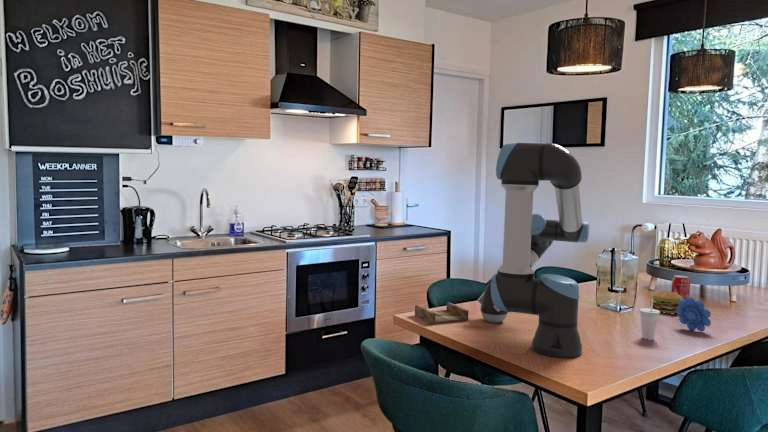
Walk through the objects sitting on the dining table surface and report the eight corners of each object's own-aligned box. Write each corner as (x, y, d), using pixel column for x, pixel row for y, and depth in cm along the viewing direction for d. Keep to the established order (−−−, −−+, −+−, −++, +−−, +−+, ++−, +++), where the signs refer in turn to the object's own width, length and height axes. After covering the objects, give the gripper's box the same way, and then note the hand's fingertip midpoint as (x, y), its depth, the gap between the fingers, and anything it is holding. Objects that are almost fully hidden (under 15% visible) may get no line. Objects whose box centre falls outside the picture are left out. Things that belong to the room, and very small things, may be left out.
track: (468, 321, 210) (468, 310, 210) (432, 324, 204) (433, 314, 204) (448, 312, 223) (448, 302, 223) (414, 315, 217) (415, 305, 216)
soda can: (672, 300, 252) (673, 274, 251) (690, 303, 248) (691, 276, 247) (669, 303, 246) (671, 276, 245) (687, 306, 242) (689, 278, 241)
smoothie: (657, 342, 189) (659, 301, 188) (636, 338, 192) (638, 298, 191) (659, 337, 194) (662, 297, 193) (639, 334, 198) (641, 295, 196)
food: (687, 317, 224) (688, 297, 223) (648, 312, 230) (649, 292, 230) (688, 310, 235) (689, 291, 235) (651, 305, 242) (652, 287, 242)
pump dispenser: (508, 325, 205) (510, 284, 204) (479, 323, 207) (481, 282, 206) (508, 318, 215) (509, 278, 214) (480, 316, 217) (481, 277, 216)
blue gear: (670, 329, 205) (673, 296, 204) (676, 325, 210) (678, 294, 209) (706, 336, 197) (709, 302, 196) (712, 332, 202) (714, 299, 201)
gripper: (549, 273, 206) (511, 319, 201) (511, 263, 226) (476, 305, 221) (538, 259, 203) (500, 306, 198) (500, 250, 224) (465, 293, 218)
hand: (487, 305), depth 210 cm, fingers closed on pump dispenser, 10 cm apart
